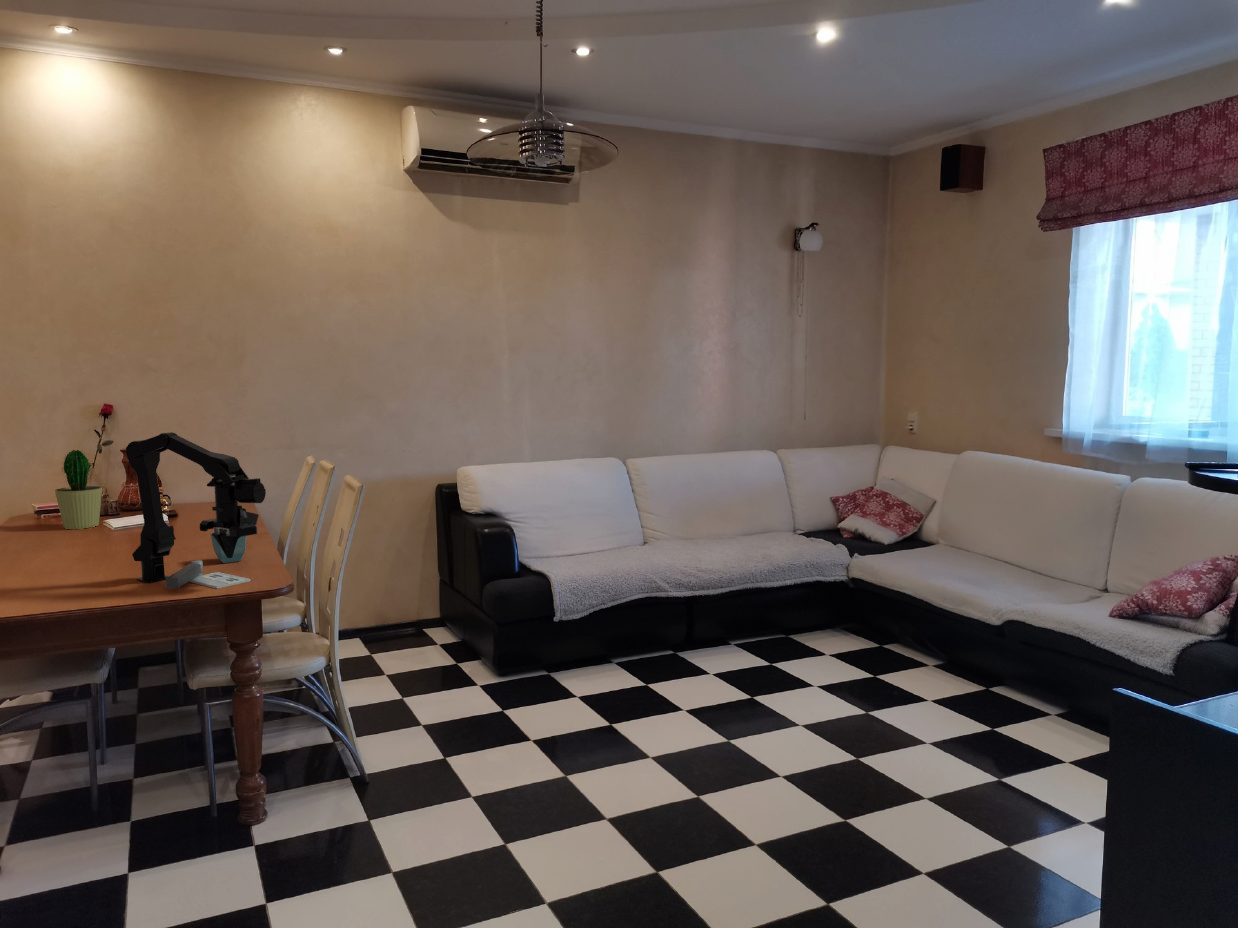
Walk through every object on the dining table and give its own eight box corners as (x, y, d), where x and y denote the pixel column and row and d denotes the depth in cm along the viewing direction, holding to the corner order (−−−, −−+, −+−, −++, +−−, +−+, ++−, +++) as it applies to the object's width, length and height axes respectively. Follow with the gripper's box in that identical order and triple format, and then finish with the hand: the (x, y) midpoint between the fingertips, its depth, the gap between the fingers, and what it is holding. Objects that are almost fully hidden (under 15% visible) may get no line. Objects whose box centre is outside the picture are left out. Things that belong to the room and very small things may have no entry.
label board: (178, 579, 251) (178, 576, 251) (211, 572, 259) (211, 569, 259) (217, 588, 240) (217, 585, 240) (250, 581, 249) (250, 577, 249)
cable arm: (193, 571, 256) (193, 560, 255) (204, 571, 256) (204, 560, 256) (166, 588, 236) (165, 576, 236) (178, 588, 236) (177, 576, 236)
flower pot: (217, 565, 269) (216, 536, 268) (211, 560, 276) (209, 532, 275) (248, 561, 274) (247, 533, 273) (241, 556, 281) (239, 529, 280)
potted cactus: (113, 525, 338) (107, 447, 335) (70, 532, 325) (64, 450, 322) (91, 522, 346) (86, 445, 343) (49, 528, 333) (43, 449, 330)
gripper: (273, 501, 246) (275, 556, 248) (233, 496, 256) (236, 549, 258) (236, 506, 237) (239, 564, 239) (197, 501, 247) (200, 556, 249)
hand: (229, 557), depth 246 cm, fingers closed
